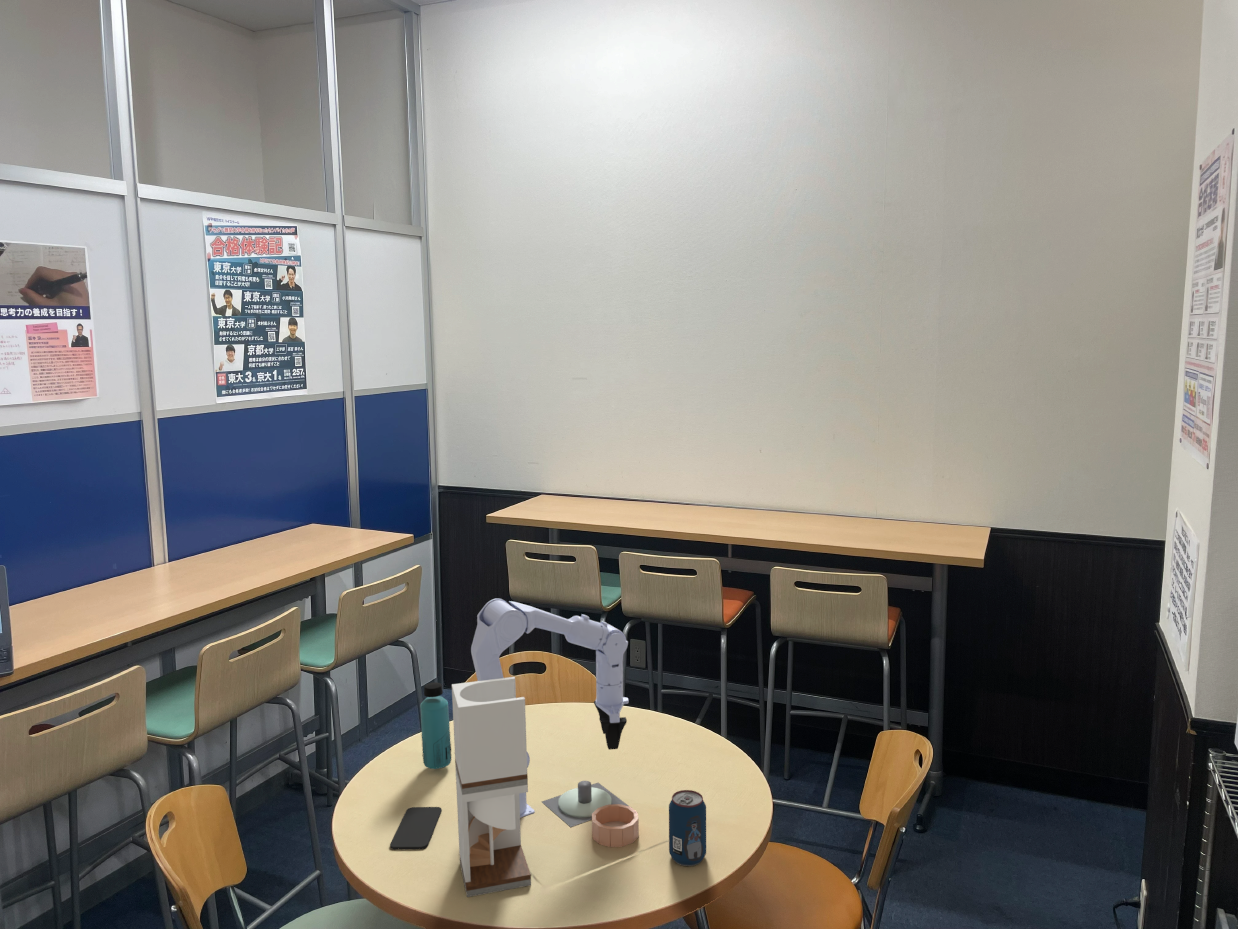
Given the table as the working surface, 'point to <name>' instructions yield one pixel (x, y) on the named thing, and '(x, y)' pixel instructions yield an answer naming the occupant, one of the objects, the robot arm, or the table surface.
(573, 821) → the mat
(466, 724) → the coffee maker
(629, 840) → the bowl
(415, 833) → the phone
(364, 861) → the table surface
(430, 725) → the beverage bottle
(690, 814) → the soda can
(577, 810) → the lid
